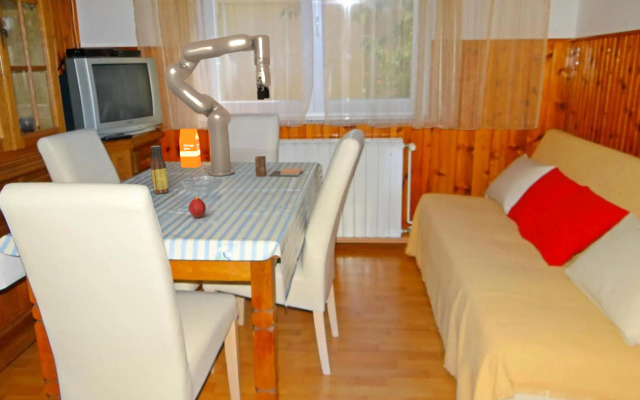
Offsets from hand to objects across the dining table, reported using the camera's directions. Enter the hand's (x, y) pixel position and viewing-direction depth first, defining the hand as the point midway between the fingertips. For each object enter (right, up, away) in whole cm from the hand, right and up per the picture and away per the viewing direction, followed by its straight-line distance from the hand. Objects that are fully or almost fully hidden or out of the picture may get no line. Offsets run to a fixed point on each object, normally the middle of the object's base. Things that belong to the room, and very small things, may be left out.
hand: (263, 99), depth 249 cm
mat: (+11, -36, +3) cm, 38 cm away
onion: (-16, -55, -67) cm, 88 cm away
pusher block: (-1, -38, -1) cm, 38 cm away
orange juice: (-42, -30, +31) cm, 61 cm away
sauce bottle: (-41, -45, -28) cm, 67 cm away
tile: (+9, -35, +4) cm, 36 cm away
